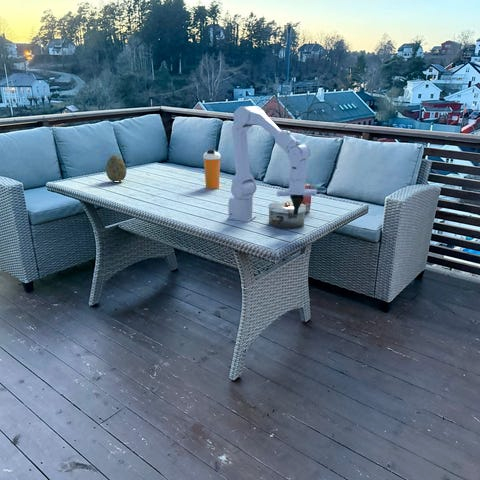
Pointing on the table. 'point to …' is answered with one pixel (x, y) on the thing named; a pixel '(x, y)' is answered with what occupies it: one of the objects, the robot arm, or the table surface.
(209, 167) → the shaker bottle
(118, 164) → the decorative egg
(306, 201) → the soda can
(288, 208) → the lid
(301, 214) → the cooker pot
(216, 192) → the table surface
